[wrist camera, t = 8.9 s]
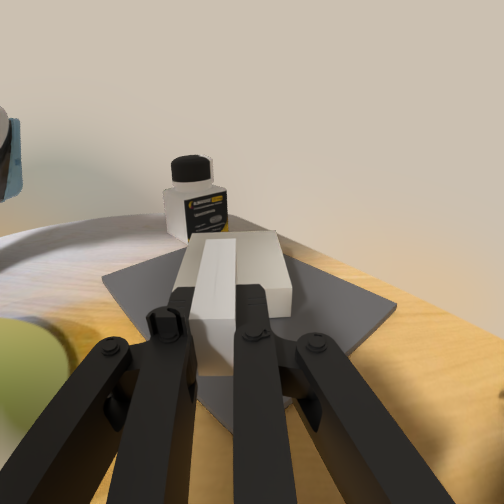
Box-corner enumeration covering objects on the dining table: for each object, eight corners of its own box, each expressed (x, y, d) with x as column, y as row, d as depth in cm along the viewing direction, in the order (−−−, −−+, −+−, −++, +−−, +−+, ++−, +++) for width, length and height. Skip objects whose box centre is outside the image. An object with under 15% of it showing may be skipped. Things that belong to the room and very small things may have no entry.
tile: (292, 287, 26) (275, 230, 38) (171, 291, 26) (192, 233, 37) (290, 318, 27) (275, 254, 39) (177, 321, 27) (194, 257, 39)
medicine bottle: (188, 247, 44) (181, 161, 38) (166, 233, 49) (158, 158, 43) (229, 233, 48) (226, 154, 43) (204, 222, 53) (199, 151, 48)
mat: (102, 282, 35) (101, 276, 34) (232, 236, 46) (232, 231, 46) (239, 441, 17) (239, 434, 16) (395, 310, 29) (397, 303, 28)
